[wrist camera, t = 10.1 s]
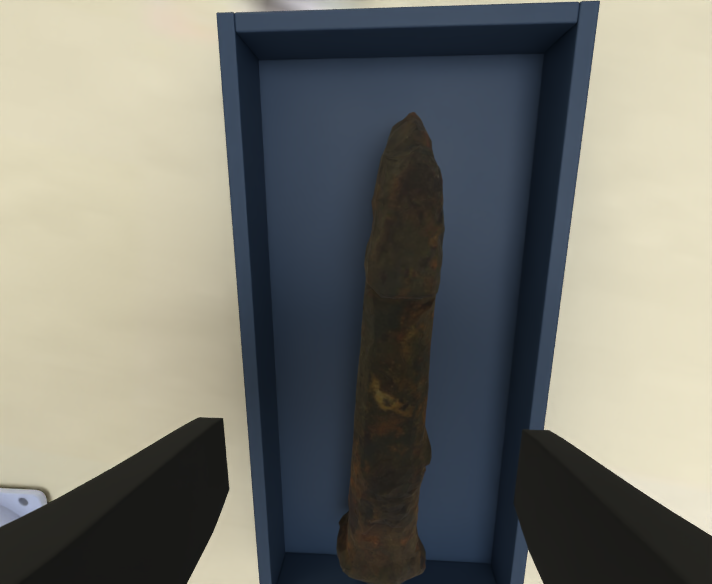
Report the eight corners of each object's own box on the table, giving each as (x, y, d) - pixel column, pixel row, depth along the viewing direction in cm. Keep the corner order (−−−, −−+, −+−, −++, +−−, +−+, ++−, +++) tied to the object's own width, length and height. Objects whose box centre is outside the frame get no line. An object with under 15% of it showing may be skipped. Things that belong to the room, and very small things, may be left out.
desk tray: (277, 551, 21) (260, 607, 18) (247, 49, 15) (215, 11, 12) (498, 564, 20) (518, 624, 17) (555, 41, 14) (600, -1, 11)
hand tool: (417, 521, 19) (429, 618, 15) (340, 512, 19) (329, 605, 15) (476, 132, 15) (519, 99, 10) (376, 123, 15) (376, 88, 10)
